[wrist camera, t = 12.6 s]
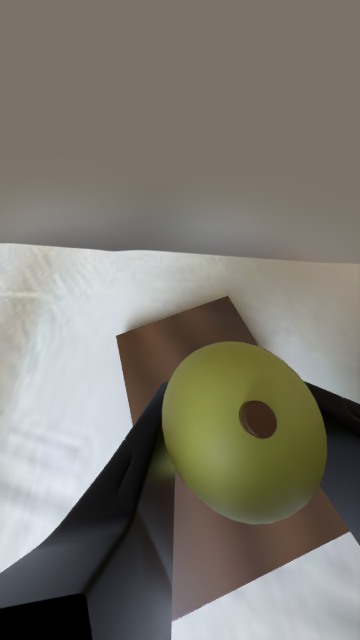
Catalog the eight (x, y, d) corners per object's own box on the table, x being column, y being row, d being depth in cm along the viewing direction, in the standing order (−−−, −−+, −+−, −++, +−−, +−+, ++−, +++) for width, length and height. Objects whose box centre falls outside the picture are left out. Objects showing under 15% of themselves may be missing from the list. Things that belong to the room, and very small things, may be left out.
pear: (226, 478, 12) (599, 1419, 1) (156, 417, 14) (9, 467, 3) (263, 396, 14) (511, 370, 3) (198, 354, 16) (201, 247, 5)
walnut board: (173, 592, 12) (169, 624, 10) (122, 340, 21) (115, 335, 19) (345, 508, 13) (366, 523, 11) (225, 303, 22) (227, 295, 20)
